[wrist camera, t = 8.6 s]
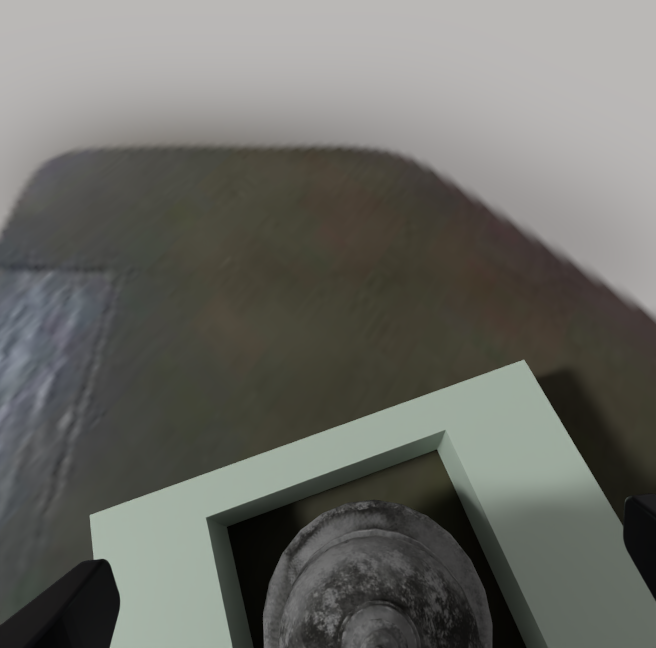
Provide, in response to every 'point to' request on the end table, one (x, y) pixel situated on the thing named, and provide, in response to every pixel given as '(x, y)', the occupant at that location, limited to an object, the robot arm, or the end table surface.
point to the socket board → (374, 455)
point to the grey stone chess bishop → (375, 584)
